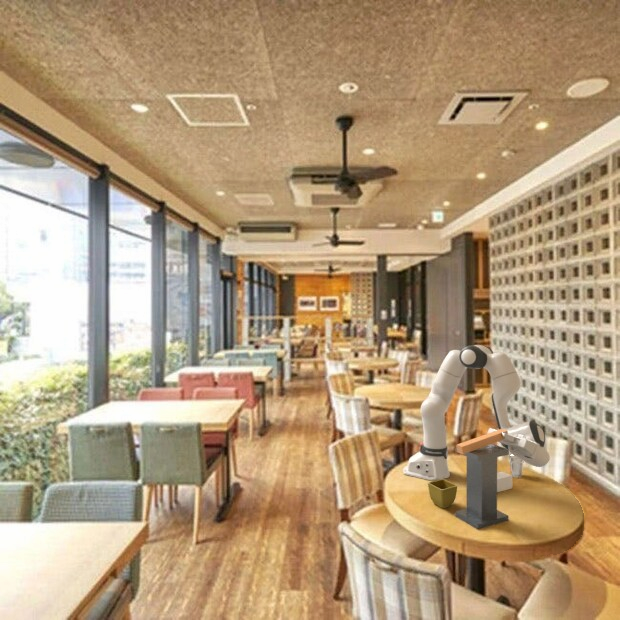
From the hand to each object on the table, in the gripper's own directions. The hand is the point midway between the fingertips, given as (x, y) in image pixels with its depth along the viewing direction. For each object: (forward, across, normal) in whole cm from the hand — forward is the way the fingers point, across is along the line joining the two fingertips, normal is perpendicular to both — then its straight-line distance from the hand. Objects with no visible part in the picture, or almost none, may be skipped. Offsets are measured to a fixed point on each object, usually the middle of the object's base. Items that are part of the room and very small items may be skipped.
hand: (498, 432), depth 189 cm
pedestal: (-9, 0, +33) cm, 34 cm away
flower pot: (-4, -16, +36) cm, 40 cm away
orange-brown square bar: (+5, 0, +7) cm, 9 cm away
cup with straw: (-51, -25, +9) cm, 58 cm away
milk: (-37, -18, +13) cm, 44 cm away
